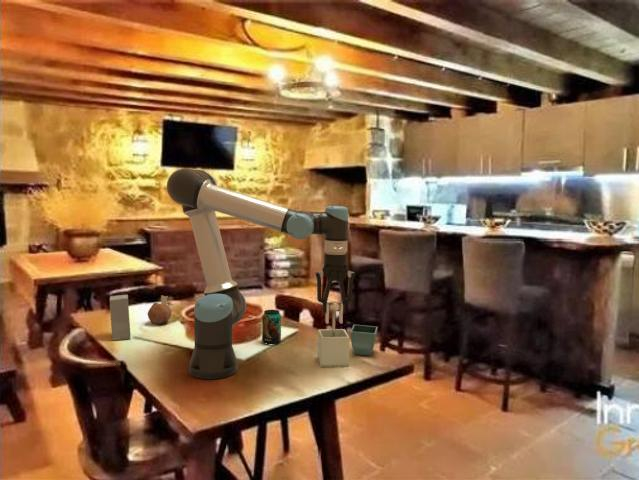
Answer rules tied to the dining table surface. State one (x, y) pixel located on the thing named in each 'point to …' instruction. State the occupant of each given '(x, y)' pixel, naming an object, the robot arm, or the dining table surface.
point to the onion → (159, 313)
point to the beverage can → (271, 327)
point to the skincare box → (120, 317)
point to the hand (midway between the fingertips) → (333, 322)
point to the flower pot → (363, 339)
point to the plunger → (334, 313)
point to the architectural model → (165, 301)
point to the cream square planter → (333, 348)
